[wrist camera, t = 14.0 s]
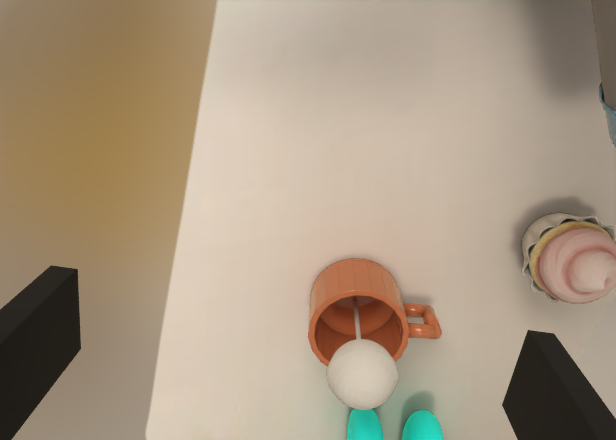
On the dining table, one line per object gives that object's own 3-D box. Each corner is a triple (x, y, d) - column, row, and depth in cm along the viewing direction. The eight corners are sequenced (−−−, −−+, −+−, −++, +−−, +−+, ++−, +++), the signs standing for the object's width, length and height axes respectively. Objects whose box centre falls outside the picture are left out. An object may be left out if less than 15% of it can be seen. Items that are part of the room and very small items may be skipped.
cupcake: (543, 296, 55) (587, 352, 46) (488, 241, 53) (522, 287, 43) (617, 240, 52) (680, 287, 43) (562, 179, 50) (616, 215, 41)
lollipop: (328, 326, 56) (328, 426, 42) (325, 279, 54) (324, 368, 40) (384, 324, 56) (402, 424, 42) (383, 277, 54) (402, 365, 40)
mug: (308, 332, 58) (305, 372, 51) (313, 255, 54) (311, 286, 48) (424, 340, 58) (436, 381, 51) (437, 263, 54) (452, 296, 47)
